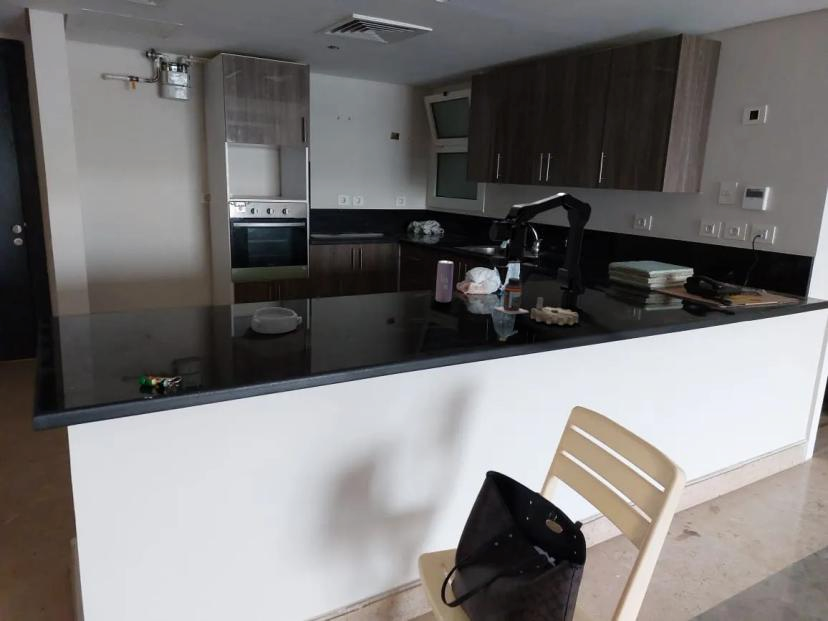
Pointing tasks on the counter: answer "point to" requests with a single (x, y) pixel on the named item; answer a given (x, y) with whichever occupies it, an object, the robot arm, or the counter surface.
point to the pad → (511, 311)
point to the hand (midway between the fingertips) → (513, 284)
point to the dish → (274, 320)
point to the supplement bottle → (512, 295)
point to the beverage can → (444, 281)
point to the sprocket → (553, 314)
